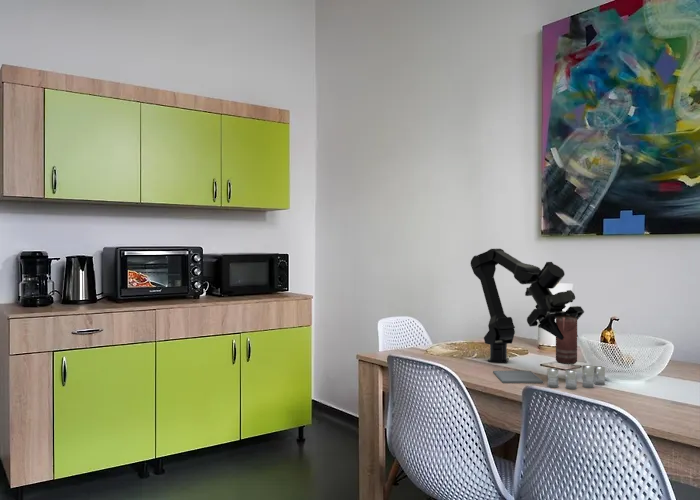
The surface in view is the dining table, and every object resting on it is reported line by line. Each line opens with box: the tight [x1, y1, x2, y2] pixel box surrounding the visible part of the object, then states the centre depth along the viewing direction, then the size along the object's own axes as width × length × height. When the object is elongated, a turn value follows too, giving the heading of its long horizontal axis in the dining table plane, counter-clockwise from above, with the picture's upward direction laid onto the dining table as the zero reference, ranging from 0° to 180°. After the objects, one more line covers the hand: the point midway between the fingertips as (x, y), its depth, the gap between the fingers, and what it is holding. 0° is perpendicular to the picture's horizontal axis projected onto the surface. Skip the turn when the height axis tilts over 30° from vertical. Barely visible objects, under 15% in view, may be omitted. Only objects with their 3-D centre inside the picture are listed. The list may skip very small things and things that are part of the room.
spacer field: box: [547, 364, 606, 390], centre depth 170 cm, size 8×21×6 cm, turn 114°
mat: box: [492, 370, 544, 384], centre depth 179 cm, size 14×12×1 cm
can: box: [555, 316, 578, 365], centre depth 175 cm, size 6×6×14 cm
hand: (569, 338), depth 174 cm, fingers closed on can, 5 cm apart
